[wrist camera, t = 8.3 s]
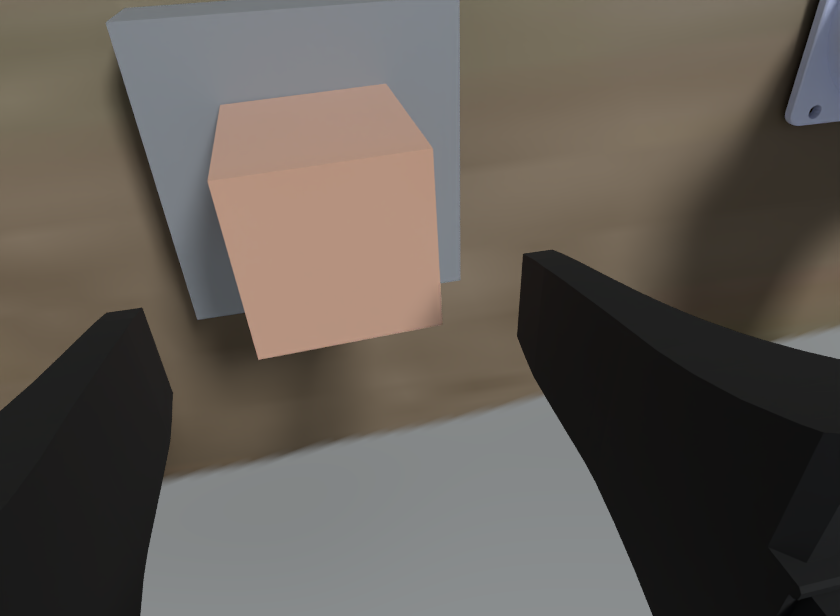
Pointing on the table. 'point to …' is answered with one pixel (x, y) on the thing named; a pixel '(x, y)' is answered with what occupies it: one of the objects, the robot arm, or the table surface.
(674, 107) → the table surface
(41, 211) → the table surface
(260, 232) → the terracotta cube
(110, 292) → the table surface
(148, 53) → the slate block
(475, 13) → the table surface
